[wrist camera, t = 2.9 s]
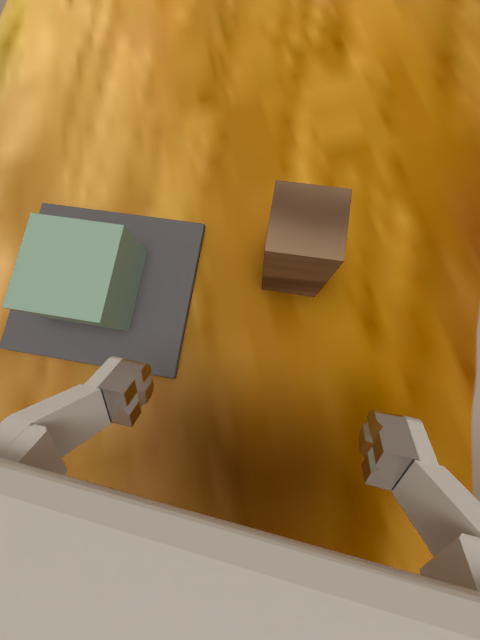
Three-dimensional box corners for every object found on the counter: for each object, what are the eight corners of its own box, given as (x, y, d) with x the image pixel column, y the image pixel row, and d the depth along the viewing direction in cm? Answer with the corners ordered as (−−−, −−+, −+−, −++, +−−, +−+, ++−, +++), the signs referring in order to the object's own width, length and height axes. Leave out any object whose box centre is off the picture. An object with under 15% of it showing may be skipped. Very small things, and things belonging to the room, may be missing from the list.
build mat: (175, 378, 26) (173, 378, 25) (4, 348, 27) (-1, 347, 27) (205, 226, 28) (204, 223, 28) (46, 206, 30) (42, 203, 29)
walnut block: (314, 296, 26) (344, 261, 18) (261, 289, 27) (264, 250, 18) (320, 247, 27) (352, 188, 18) (269, 240, 28) (275, 180, 19)
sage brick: (128, 331, 26) (99, 322, 21) (48, 318, 27) (2, 307, 22) (147, 250, 27) (123, 225, 22) (70, 239, 28) (30, 212, 23)
